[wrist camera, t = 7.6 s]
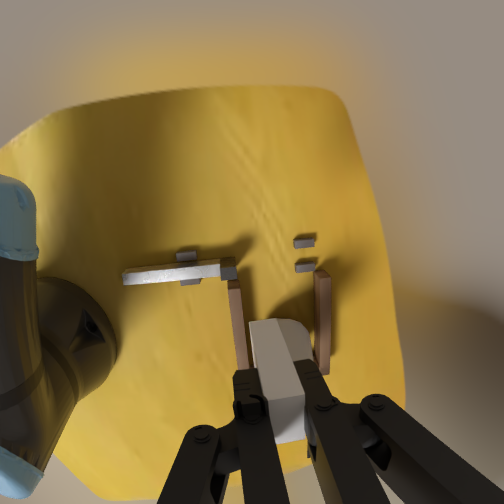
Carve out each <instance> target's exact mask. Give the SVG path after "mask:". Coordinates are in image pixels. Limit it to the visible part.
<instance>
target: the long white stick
mask: <svg viewBox="0 0 504 504" xmlns="http://www.w3.org/2000/svg"><path fill="white" fill-rule="evenodd" d="M215 276H221V281H223V280H232V279H237V271H236V262H235V257H228V258H219V259H210V260H200V261H191V262H182V263H172V264H163V265H153V266H144V267H135V268H127V269H126V270H125V271H124V272H123V273H122V279H123V283H124V285H135V284H145V283H156V282H166V281H176V280H186V279H196V278H206V277H215Z"/></svg>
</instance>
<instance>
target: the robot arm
mask: <svg viewBox="0 0 504 504" xmlns="http://www.w3.org/2000/svg"><path fill="white" fill-rule="evenodd" d="M38 255H39V248H38V246H37V245H36V202H35V198H34V195H33V193H32V192H31V190H30V189H29V188H28V187H27V186H26V185H25V184H24V183H23V182H21V181H19V180H17V179H14V178H11V177H8V176H4V175H1V174H0V494H1V495H3V496H6V497H9V498H15V499H24V498H27V497H29V496H30V495H31V494H32V493H33V491H34V489H35V488H36V486H37V484H38V483H39V481H40V480H41V478H43V476H44V470H45V468H46V466H47V463H48V461H49V459H50V457H51V455H52V453H53V450H54V448H55V446H56V444H57V442H58V440H59V438H60V436H61V434H62V432H63V429H64V427H65V425H66V423H67V421H68V419H69V417H70V415H71V413H72V411H73V409H74V407H75V405H76V404H77V402H78V401H80V400H81V399H83V398H84V397H85V396H87V395H88V394H90V393H91V392H92V391H94V390H95V389H96V388H98V387H99V386H100V385H102V384H103V382H104V381H105V380H106V379H107V377H108V375H109V373H110V371H111V369H112V367H113V365H114V362H115V359H116V351H117V347H116V339H115V335H114V331H113V329H112V326H111V324H110V322H109V320H108V318H107V316H106V314H105V313H104V311H103V310H102V309H101V307H100V306H99V305H98V304H97V302H96V301H95V300H94V299H93V298H92V297H91V296H90V295H88V294H87V293H86V292H85V291H84V290H82V289H81V288H79V287H78V286H76V285H74V284H72V283H70V282H68V281H65V280H62V279H58V278H50V277H47V278H40V279H37V275H36V259H38ZM249 328H250V336H251V345H252V353H253V361H254V367H255V368H251V369H243V370H236V372H235V374H234V376H233V388H234V399H235V400H234V402H233V410H234V415H235V417H234V419H233V420H232V421H231V422H230V423H229V424H228V425H226V426H223V427H221V428H218V429H216V428H214V427H213V426H210V425H198V426H195V427H193V428H191V429H190V430H188V432H187V433H186V434H185V437H184V439H183V441H182V444H181V446H180V449H179V451H178V454H177V456H176V458H175V461H174V463H173V466H172V468H171V470H170V473H169V475H168V478H167V480H166V482H165V485H164V487H163V490H162V492H161V494H160V497H159V499H158V502H157V504H222V503H223V499H224V495H225V490H226V487H227V483H228V479H229V473H232V472H234V471H237V470H240V469H241V476H242V485H243V494H244V502H245V504H290V502H289V497H288V493H287V489H286V485H285V481H284V476H283V472H282V468H281V464H280V459H279V455H278V451H277V446H276V444H281V443H286V442H292V441H297V440H303V439H305V433H306V436H307V439H308V447H307V458H310V457H311V460H312V463H313V466H314V469H315V472H316V475H317V478H318V482H319V484H320V487H321V491H322V494H323V497H324V500H325V503H326V504H390V501H389V499H388V497H387V495H386V493H385V491H384V489H383V487H382V485H381V483H380V481H379V479H378V477H377V475H376V473H377V474H378V475H379V477H380V478H381V479H382V480H383V481H384V482H385V483H386V484H387V485H388V486H389V487H390V488H391V489H392V490H393V492H394V493H395V494H396V495H397V496H398V497H399V498H400V499H401V500H402V501H403V502H404V503H405V504H504V491H503V490H501V489H500V488H499V487H498V486H496V485H495V484H494V483H492V482H491V481H490V480H489V479H487V478H486V477H485V476H484V475H482V474H481V473H480V472H479V471H477V470H476V469H475V468H474V467H472V466H471V465H470V464H468V463H467V462H466V461H465V460H464V459H462V458H461V457H460V456H459V455H458V454H456V453H455V452H454V451H453V450H451V449H450V448H449V447H448V446H446V445H445V444H444V443H443V442H442V441H440V440H439V439H438V438H437V437H435V436H434V435H433V434H432V433H431V432H429V431H428V430H427V429H426V428H425V427H423V426H422V425H421V424H420V423H418V422H417V421H416V420H415V419H414V418H412V417H411V416H410V415H409V414H408V413H407V412H405V411H404V410H403V409H402V408H401V407H399V406H398V405H397V404H396V403H395V402H393V401H392V400H391V399H390V398H389V397H387V396H385V395H382V394H371V395H368V396H366V397H365V398H363V399H362V401H361V403H360V404H347V403H342V402H340V401H339V400H338V399H337V398H336V397H334V396H332V395H331V393H330V390H329V388H328V386H327V384H326V382H325V380H324V378H323V377H322V374H321V372H320V370H319V368H318V366H317V364H316V363H315V362H313V361H312V360H311V359H304V360H298V361H292V359H291V356H290V353H289V351H288V348H287V345H286V343H285V340H284V338H283V335H282V332H281V330H280V327H279V325H278V322H277V319H276V318H272V319H265V320H258V321H251V322H249ZM375 472H376V473H375Z"/></svg>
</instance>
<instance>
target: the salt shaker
mask: <svg viewBox="0 0 504 504" xmlns="http://www.w3.org/2000/svg"><path fill="white" fill-rule="evenodd" d="M276 319H277V322H278V325H279V327H280V330H281V332H282V335H283V338H284V340H285V343H286V345H287V348H288V351H289V353H290V356H291V359H292V361H298V360H304V359H311V360H312V361H313V354H312V347H311V340H310V336H309V332H308V331H307V329H306V328H305V327H304V326H303V325H302V324H301V323H300V322H298V321H295V320H292V319H281V318H276ZM313 362H314V361H313Z"/></svg>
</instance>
